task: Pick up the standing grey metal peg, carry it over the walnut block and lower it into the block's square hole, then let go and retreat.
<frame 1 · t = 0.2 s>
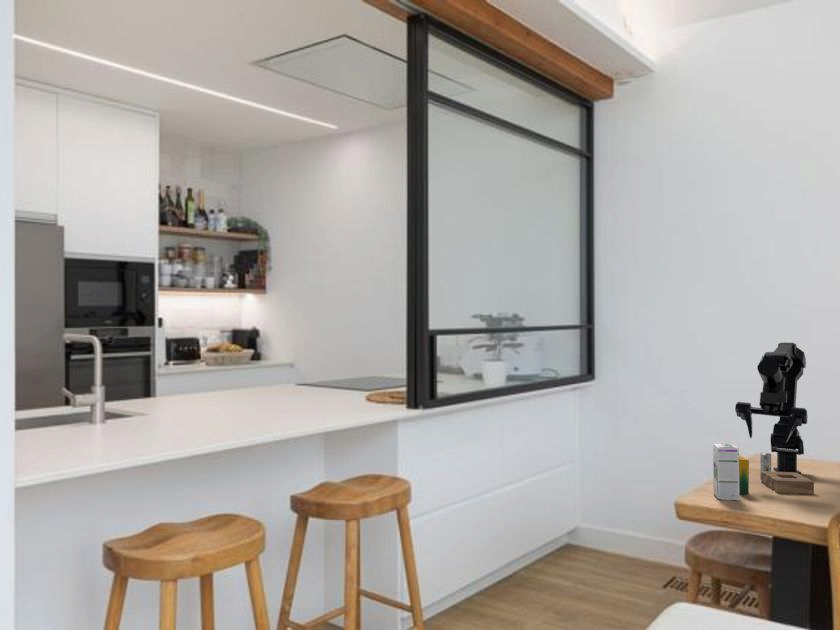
hand: (768, 439, 202), 14 cm above the table, tool tilted 30°, fingers open, 9 cm apart
hole block: (786, 488, 203), on the table
syrup box: (726, 498, 192), on the table
peg: (765, 479, 214), on the table
crayon box: (739, 492, 199), on the table
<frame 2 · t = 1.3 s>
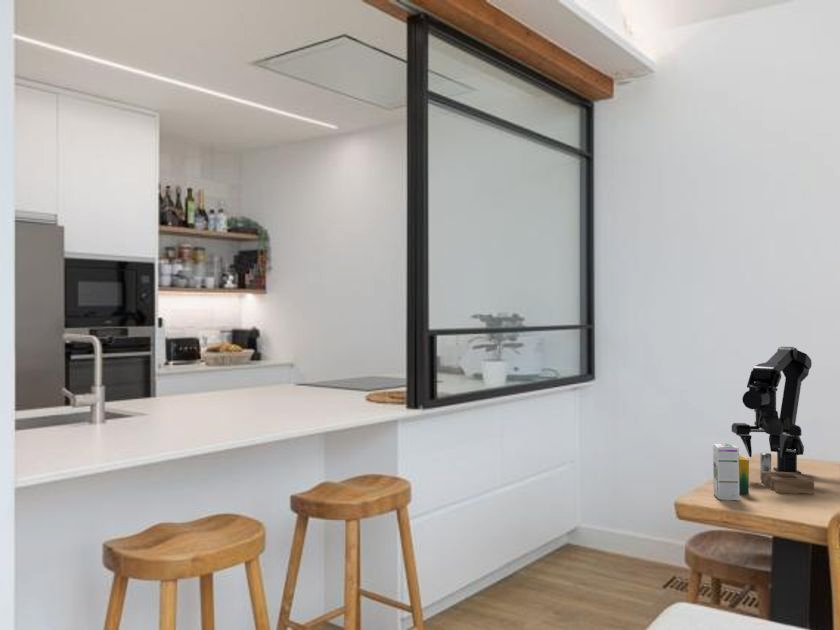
hand: (766, 457, 214), 7 cm above the table, tool pointing down, fingers open, 9 cm apart
nothing on the table moved.
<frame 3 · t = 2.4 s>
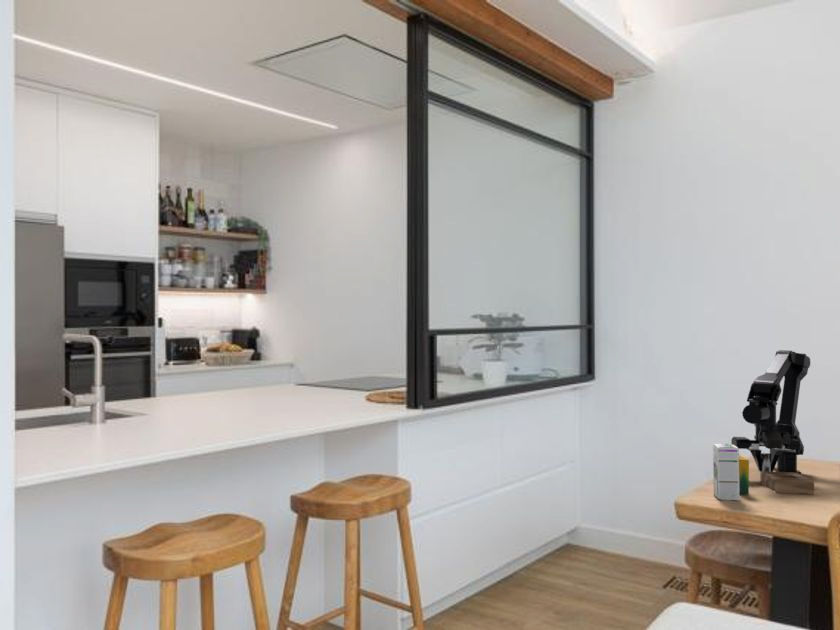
hand: (765, 471, 214), 3 cm above the table, tool pointing down, fingers closed on peg, 3 cm apart
peg: (765, 479, 214), on the table, touching gripper
everything else where it was.
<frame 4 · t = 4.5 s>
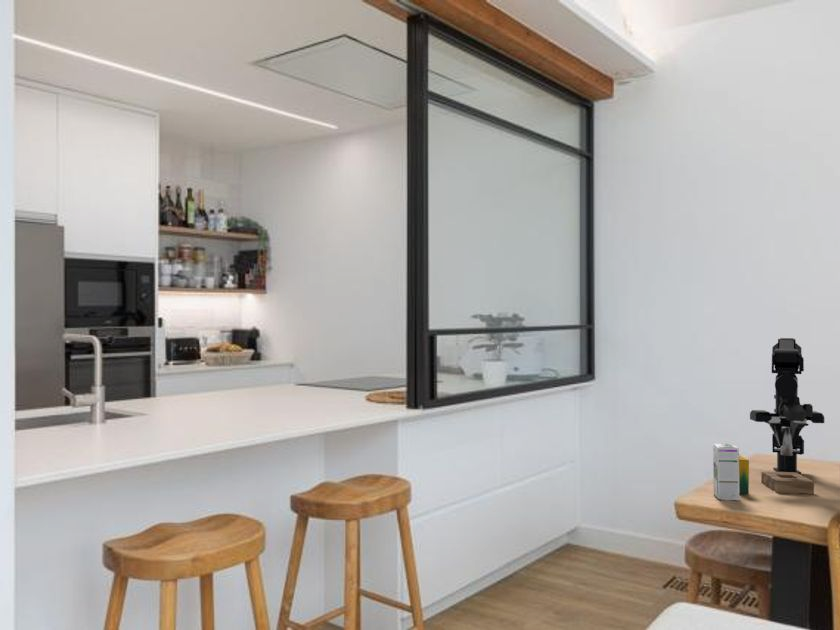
hand: (786, 446, 203), 12 cm above the table, tool pointing down, fingers closed on peg, 3 cm apart
peg: (786, 454, 203), point 10 cm above the table, touching gripper
everything else where it was.
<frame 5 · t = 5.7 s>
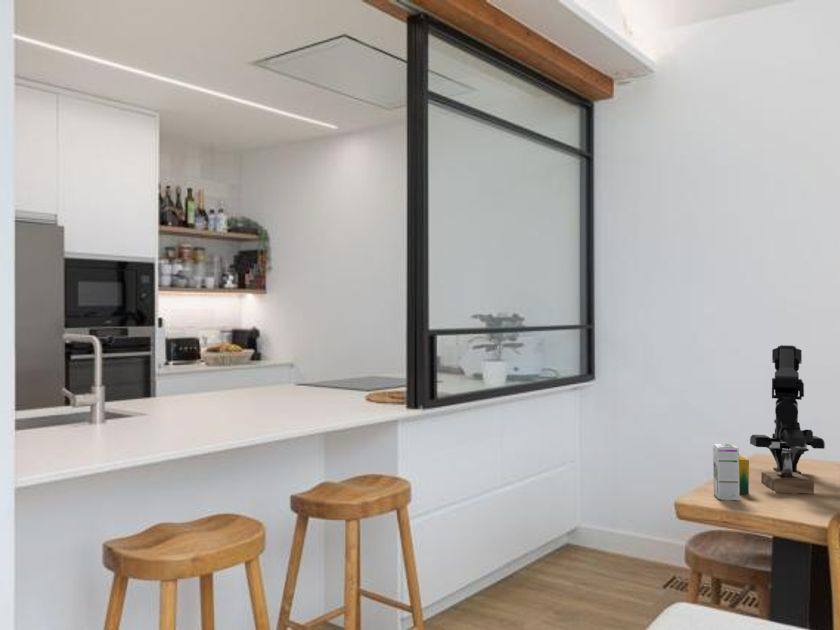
hand: (786, 471, 203), 5 cm above the table, tool pointing down, fingers closed on peg, 3 cm apart
peg: (786, 479, 203), point 2 cm above the table, touching gripper
everything else where it was.
when the fingers open (4 cm above the table, at t = 6.5 s): peg drops 2 cm, resting in hole block.
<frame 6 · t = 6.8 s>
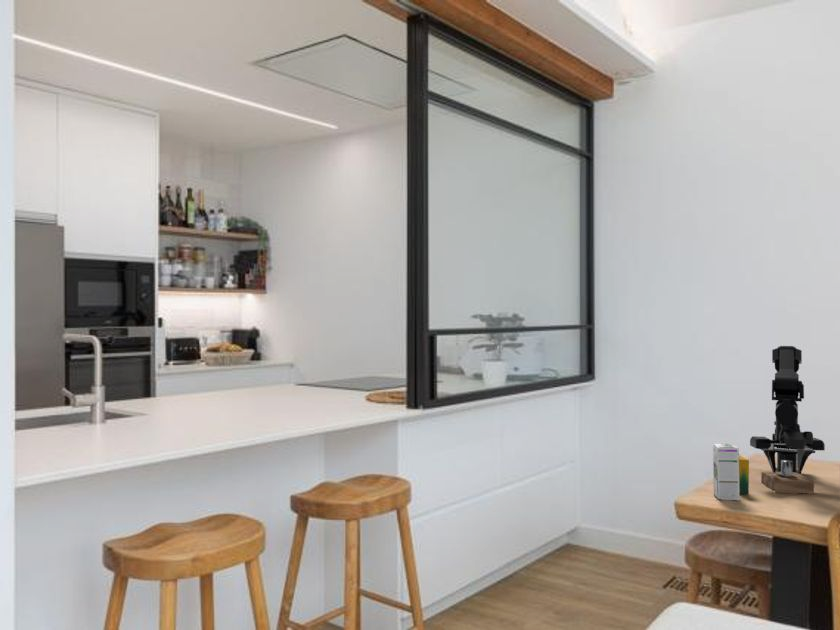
hand: (786, 472, 203), 4 cm above the table, tool pointing down, fingers open, 7 cm apart
peg: (786, 488, 203), resting in hole block
everything else where it was.
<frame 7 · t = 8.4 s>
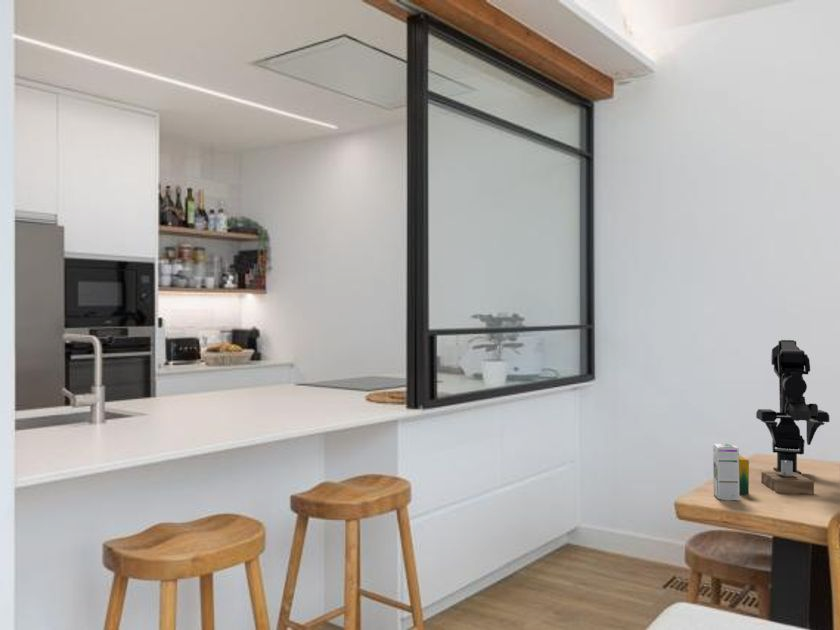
hand: (792, 444, 208), 12 cm above the table, tool pointing down, fingers open, 9 cm apart
nothing on the table moved.
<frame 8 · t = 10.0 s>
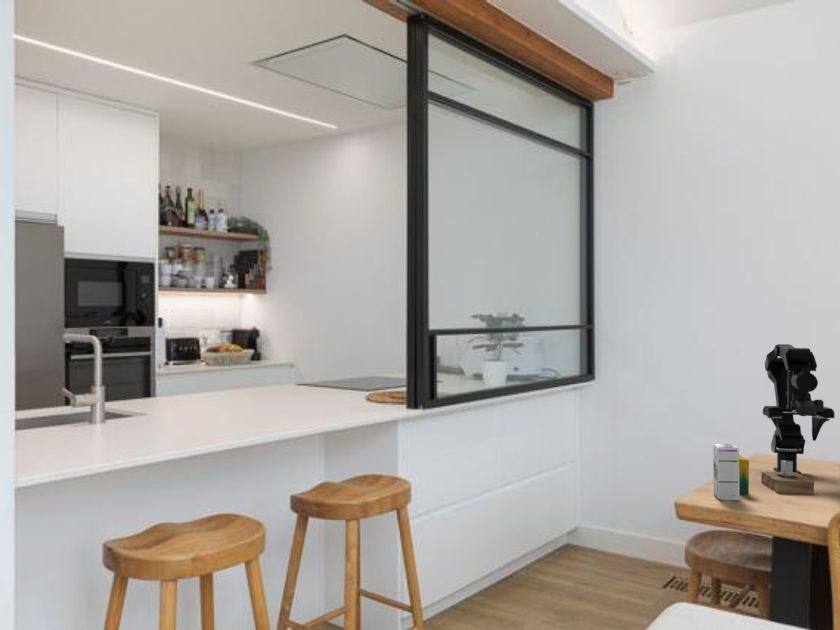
hand: (798, 440, 212), 13 cm above the table, tool pointing down, fingers open, 9 cm apart
nothing on the table moved.
at the end: peg 0.0 cm off-centre on the hole block, point 0.0 cm above the hole block's base; peg tilted 0°; the gripper is holding nothing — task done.
